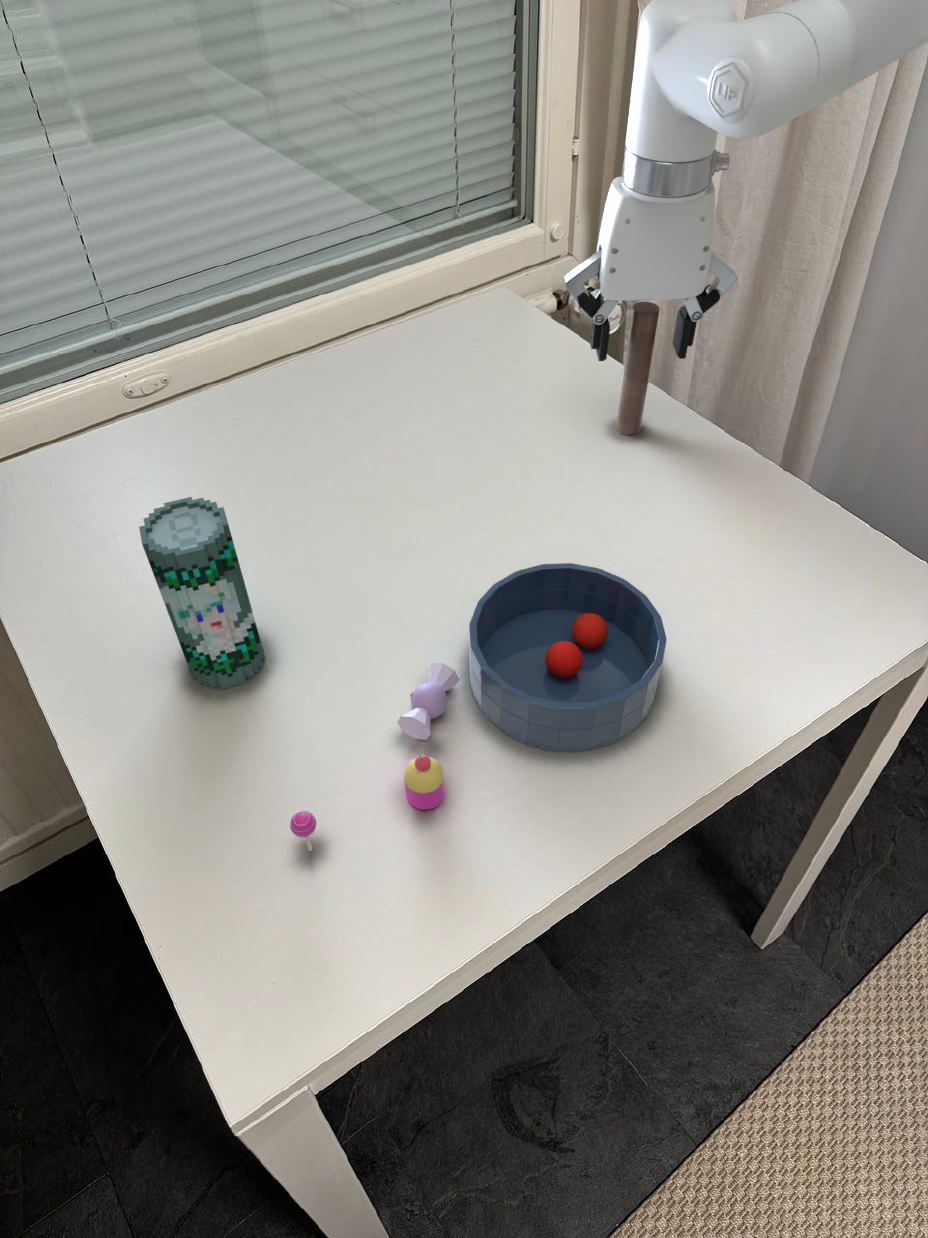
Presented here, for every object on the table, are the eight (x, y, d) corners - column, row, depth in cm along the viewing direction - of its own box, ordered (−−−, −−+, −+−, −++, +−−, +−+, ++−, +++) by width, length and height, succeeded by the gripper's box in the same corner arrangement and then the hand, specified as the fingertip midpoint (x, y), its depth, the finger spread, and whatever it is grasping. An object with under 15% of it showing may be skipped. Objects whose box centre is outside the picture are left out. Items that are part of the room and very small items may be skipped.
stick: (638, 420, 98) (656, 300, 87) (642, 434, 96) (661, 314, 86) (614, 421, 98) (630, 301, 87) (618, 435, 96) (634, 314, 86)
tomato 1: (578, 656, 74) (581, 632, 72) (583, 685, 72) (586, 661, 70) (542, 658, 74) (544, 634, 72) (546, 686, 72) (548, 662, 70)
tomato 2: (603, 628, 76) (606, 604, 74) (608, 655, 74) (612, 631, 72) (568, 630, 76) (571, 606, 74) (572, 656, 74) (575, 632, 72)
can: (196, 696, 73) (145, 563, 61) (185, 643, 76) (135, 509, 65) (270, 675, 74) (233, 541, 63) (256, 625, 78) (218, 490, 67)
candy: (402, 672, 74) (397, 622, 69) (492, 701, 72) (493, 652, 67) (293, 855, 63) (278, 811, 58) (395, 896, 61) (389, 853, 56)
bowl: (638, 605, 79) (646, 560, 75) (671, 748, 68) (683, 704, 64) (466, 611, 79) (466, 566, 75) (474, 755, 68) (473, 712, 64)
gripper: (755, 149, 80) (716, 331, 93) (561, 155, 79) (549, 336, 92) (778, 183, 75) (734, 370, 88) (571, 189, 74) (557, 375, 87)
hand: (639, 351), depth 90 cm, fingers open, 7 cm apart
